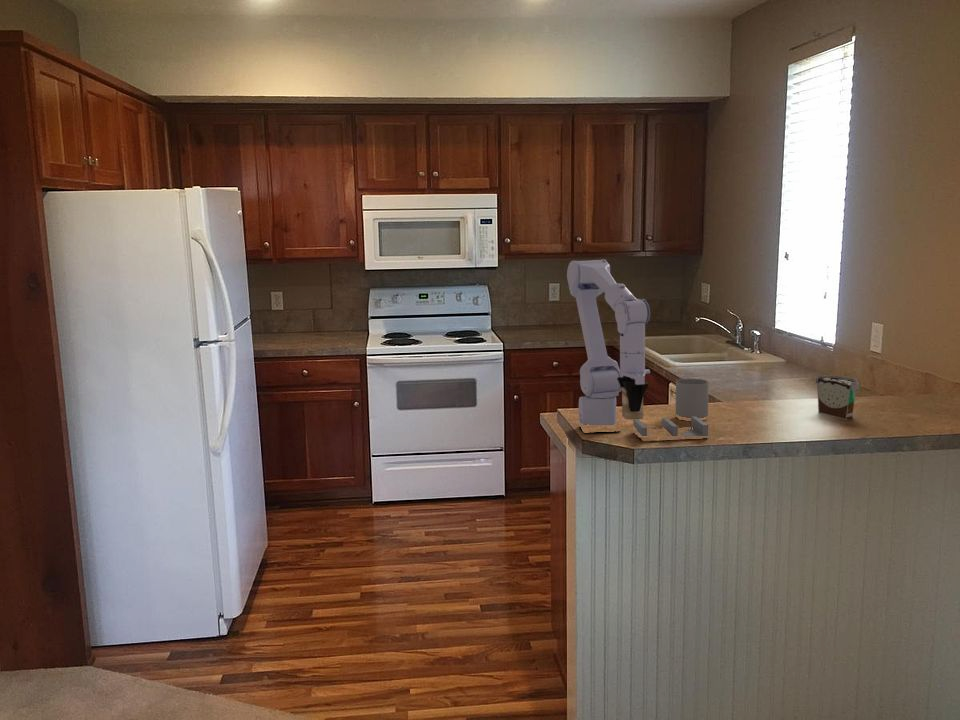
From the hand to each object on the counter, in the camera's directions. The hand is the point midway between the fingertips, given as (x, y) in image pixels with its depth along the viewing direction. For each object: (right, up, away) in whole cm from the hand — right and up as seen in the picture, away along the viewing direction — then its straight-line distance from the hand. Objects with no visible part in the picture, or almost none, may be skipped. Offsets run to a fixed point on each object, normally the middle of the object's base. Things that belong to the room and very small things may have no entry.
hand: (632, 409), depth 182 cm
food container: (+60, -3, +24) cm, 65 cm away
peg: (0, -2, 0) cm, 2 cm away
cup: (+21, -4, +26) cm, 34 cm away
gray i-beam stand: (+11, -7, +9) cm, 16 cm away
